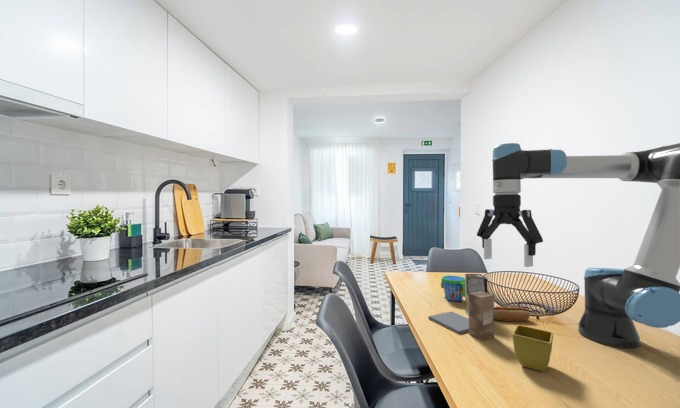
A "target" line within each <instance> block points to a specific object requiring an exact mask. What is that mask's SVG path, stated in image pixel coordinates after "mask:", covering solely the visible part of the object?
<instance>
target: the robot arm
mask: <svg viewBox="0 0 680 408" xmlns="http://www.w3.org/2000/svg"><path fill="white" fill-rule="evenodd" d="M491 162H492V193H493V194H494V195H493V196H492V206H493V209H485V210H484V216H483V218H482V220H481V223H480V226H479V228H478V231H477V232H476V236H477V237H480V238H481V243H482V249H483V259H484V260H492V257H493V256H492V255H493V253H492V249H493V248H492V247H493V244H492V243H493V241H492V238H491V236H492V235H493V234H494V233H495V231H497V229H498V228H499V226H501V225H511V226H512V227H514V228H515V229H516V231H517V232H518V233H519V235H521V237H522V239H523V240H524V241H525V242H526V243H524V244H523V245H524V246H523V249H524V250H523V251H524V253H523V258H524V259H523V260H524V262H523V263H524V266H523V267H525V268H530V267H533V266H534V256H536V252H537V251H536V250H537V249H536V246H537V244H540V243H543V242H544V239H543V236H542V235H541V233H540V230H539V229H538V227H537V225H536V223H535V221H534V219H533V216H532V215H533V214H532V210H530V209H522V210H521V205H522V203H521V199H522V197H521V194H519V193H521V192H522V189H521V188H522V186H521V185H522V181H521V180H524V179H619V180H620V181H622V182H640V183H652V184H656V185H658V186H659V187H660V188H661V191H660V194H659V197H658V199H657V202H656V205H655V207H654V209H653V213H652V215H651V218H650V220H649V223H648V225H647V228H646V231H645V233H644V237H643V239H642V241H641V244H640V247H639V249H638V252H637V255H636V258H635V260H634V262H633V264H632V265H630V266H628V267H626V268H623V269H622V268H609V267H608V268H606V267H588V268H586V269H585V270H584V277H583V280H584V311H583V313H582V316H581V317H580V320H579V322H578V329H577V331H578V333H579V334H580V335H582V336H583V337H585V338H587V339H589V340H591V341H594V342H597V343H599V344H603V345H608V346H613V347H618V348H619V347H620V348H625V349H626V348H628V349H629V348H637V347H639V346H640V345H641V342H640V341H641V338H640V335H639V333H638V330H637V328H636V326H635V323H638V324H642V325H643V326H644V325H645V326H647V327H650V328H657V329H659V328H660V329H661V328H662V329H663V328H668V327H671V326H675V325H677V324H678V323H680V282H679V280H678V279H677V277H678V276H677V275H678V273H679V271H680V142H679V143H674V144H669V145H666V146H664V145H663V146H659V147H655V148H651V149H647V150H640V151H639V150H638V151H627V152H624V153H622V154H620V155H618V154H617V155H616V154H615V155H567V154H566V152H565V151H564V150H562V149H552V148H549V149H536V150H535V149H533V150H532V149H531V150H526V149H525V150H524V149H522V148H521V145H520V144H519V143H515V142H509V143H500V144H497V145H496V146H494V148H493V150H492V161H491ZM493 217H494V218H493ZM520 217H521V218H522V219H520ZM522 220H523V221H522ZM523 222H524V223H523Z"/></svg>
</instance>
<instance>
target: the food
mask: <svg viewBox="0 0 680 408" xmlns="http://www.w3.org/2000/svg"><path fill="white" fill-rule="evenodd" d="M530 317H531V314H530V310H529V308H524V307H523V308H522V307H514V306H513V307H512V306H510V307H509V306H494V320H498V321H506V320H507V321H508V322H525V321H526V322H527V321H528V320H529V319H530ZM507 321H506V322H507Z"/></svg>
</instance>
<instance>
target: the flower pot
mask: <svg viewBox="0 0 680 408" xmlns="http://www.w3.org/2000/svg"><path fill="white" fill-rule="evenodd" d="M553 340H554V332H553V331H548V330H545V329H540V328H536V327H535V328H534V327H531V326H526V325H522V324H517V325H516V326H515V328H514V330H513V331H512V341H513V349H514V353H515V356H516V359H517V361H518V362H519V364H520V365H521V366H522V367H525V368H529V369H532V370H537V371H538V372H545V370H546V369H547V367H548V366H549V364H550V360H551V354H552V349H553Z"/></svg>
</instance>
